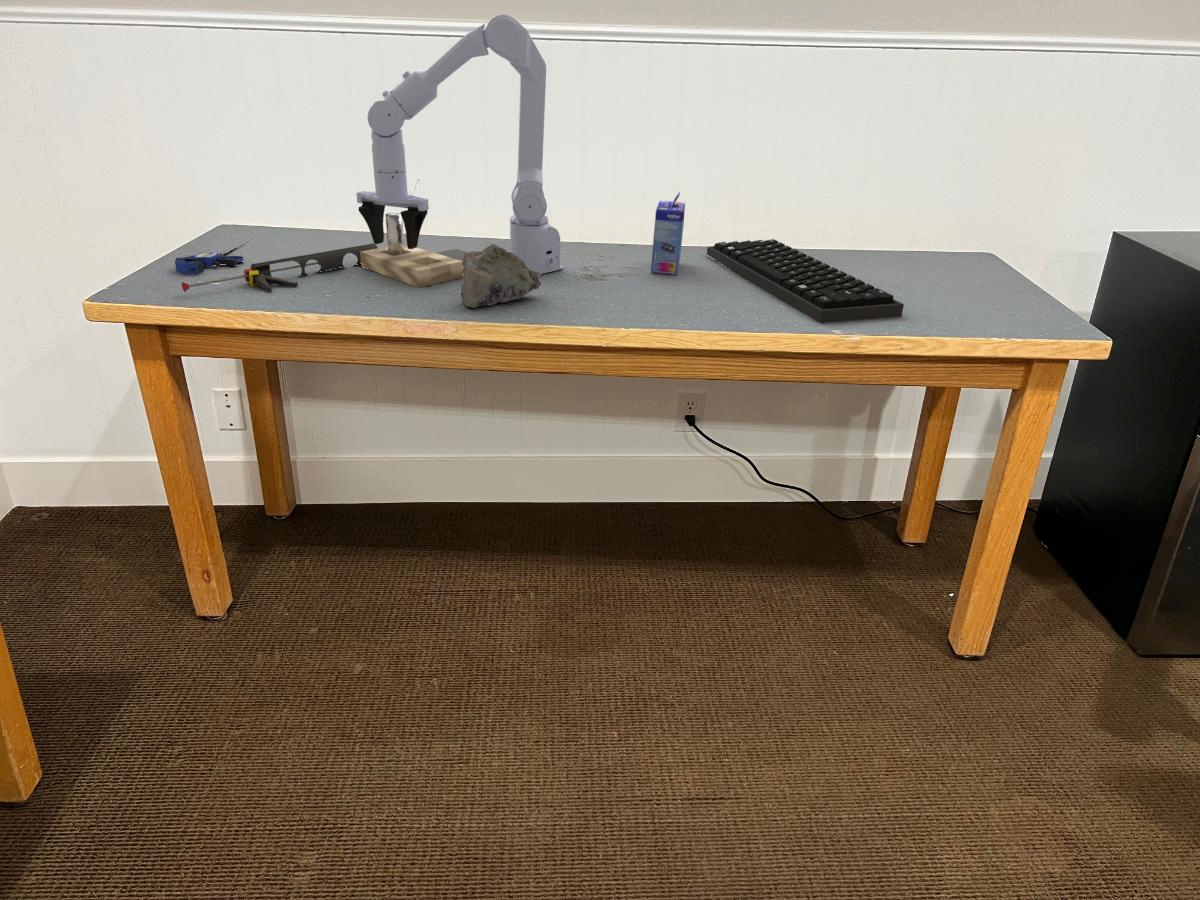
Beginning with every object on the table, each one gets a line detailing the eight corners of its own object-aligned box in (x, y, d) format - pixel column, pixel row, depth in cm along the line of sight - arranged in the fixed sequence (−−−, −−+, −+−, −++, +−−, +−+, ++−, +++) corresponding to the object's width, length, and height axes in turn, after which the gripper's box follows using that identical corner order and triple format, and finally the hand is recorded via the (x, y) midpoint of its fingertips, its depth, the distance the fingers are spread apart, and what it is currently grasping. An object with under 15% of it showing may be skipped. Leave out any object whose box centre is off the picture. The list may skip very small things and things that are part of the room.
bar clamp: (223, 263, 156) (167, 262, 156) (225, 277, 157) (170, 275, 157) (283, 231, 186) (237, 229, 186) (285, 242, 187) (238, 241, 187)
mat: (487, 259, 173) (487, 257, 173) (447, 267, 166) (447, 266, 166) (455, 250, 179) (455, 248, 179) (416, 258, 172) (416, 256, 172)
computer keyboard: (706, 259, 181) (707, 240, 179) (774, 255, 185) (776, 237, 184) (819, 326, 143) (822, 303, 141) (901, 319, 147) (905, 297, 146)
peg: (408, 266, 166) (405, 214, 162) (399, 270, 164) (395, 216, 159) (396, 264, 167) (392, 212, 163) (386, 268, 165) (382, 214, 160)
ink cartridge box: (679, 275, 166) (684, 198, 160) (650, 273, 167) (654, 196, 160) (681, 263, 175) (686, 189, 168) (653, 261, 176) (658, 187, 169)
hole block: (463, 277, 161) (462, 261, 159) (419, 287, 154) (418, 270, 153) (404, 258, 171) (403, 243, 170) (361, 267, 165) (359, 251, 163)
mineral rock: (542, 295, 152) (542, 238, 148) (534, 314, 142) (534, 253, 138) (469, 292, 152) (466, 235, 148) (456, 310, 143) (454, 250, 138)
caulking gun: (396, 257, 164) (366, 237, 169) (203, 293, 140) (175, 269, 145) (395, 276, 166) (366, 256, 172) (205, 315, 142) (177, 291, 147)
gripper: (436, 171, 158) (440, 245, 164) (370, 164, 163) (376, 236, 169) (413, 176, 152) (418, 253, 158) (346, 169, 157) (354, 244, 163)
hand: (395, 245), depth 163 cm, fingers open, 7 cm apart
